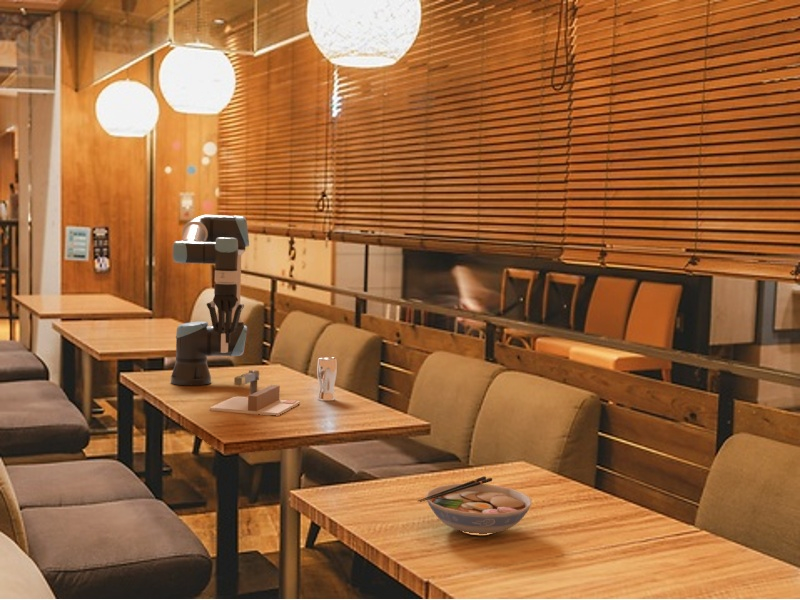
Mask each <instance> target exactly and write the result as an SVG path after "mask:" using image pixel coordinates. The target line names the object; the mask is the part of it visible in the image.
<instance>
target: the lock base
mask: <svg viewBox="0 0 800 600" xmlns="http://www.w3.org/2000/svg"><path fill="white" fill-rule="evenodd" d="M249 384H250V385H249V395H248V396H233V397H231V398H228V399H226V400H224V401H221V402H220V403H216V404H215V405H213V406H210V407H209V411H212V412H223V413H224V412H225V413H235V414H248V415H258V414H260V415H259V416H262V415H263V416H270V415H276V416H275V417H279V416H281V415H283V414H284V412H285V413H286V412H288V411H290V410H292V409H293V407H294V408H295V407H297V406H298V404H299V405H300V401H299V400H297V399H296V400H295V399H280V393H281V392H280V387H281V385H278V384H277V385H276V384H271V385H269V386H268V385H267V387H264V388H262V389H260V390H258V380H254V381H252V382H249ZM291 408H292V409H291ZM282 413H283V414H282ZM280 414H281V415H280ZM278 415H279V416H278Z"/></svg>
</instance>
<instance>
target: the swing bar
mask: <svg viewBox="0 0 800 600" xmlns="http://www.w3.org/2000/svg"><path fill="white" fill-rule="evenodd" d="M233 379H234V382H233V384H234V385H233V386H236V387H243V386H245V385H247V384H250V382H252V381H254V380H257V381H259V380H260V371H259V370H256V369H255V370H253V369H252V370H248V372H247V373H244V374H241V375H238V376H235V377H234V378H233Z"/></svg>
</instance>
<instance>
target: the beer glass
mask: <svg viewBox="0 0 800 600" xmlns="http://www.w3.org/2000/svg"><path fill="white" fill-rule="evenodd" d="M337 366H338V365H337V358H336V357H332V356H320V357H318V358H317V367H316V372H317V373H316V374H317V381H318V383H317V384H318V389H319V390H318V395H317V400H318V401H322V402H331V401H332V402H333V401H335V400H336V399H335V394H334V393H335V391H334V390H335V383H336V379H337V373H338V371H337V370H338V369H337V368H338V367H337Z"/></svg>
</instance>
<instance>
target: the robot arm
mask: <svg viewBox="0 0 800 600" xmlns="http://www.w3.org/2000/svg"><path fill="white" fill-rule="evenodd" d="M248 229H249V228H248V222H247V219H246V217H245V216H243V215H241V216H240V215H224V214H223V215H221V214H203V215H202V214H201V215H199V216H195V217H193V218H191V219H190V220H188V221H187V222H185V224H184V225H183V228H182V231H181V237H182V239H181V240H179V241H178V240H176V241H174V242H173V245H172V260H173V262H174V263H178V264H179V263H180V264H203V265H206V264H207V265H214V282H215V284H214V288H213V289H214V291H213V294H214V296H213V298H212V300H211V301H210V302H207V303H206V307H207V308H208V310H209V314H210V320H211V324H212V325H209V324H208V322H207V321H204V320H203V321H192V322H191V321H190V322H184V323H181V324H179V325H177V327H176V334H175V335H176V336H175V338H176V344H175V345H176V346H175V347H176V348H175V364H174V367H173V371H172V372H171V376H170V384H173V385H176V386H177V385H179V386H204V385H209V384H211V383H212V376H211V372H210V369H209V365H208V357H209V356H211V357H213V356H214V357H218V356H219V357H239V356H240V357H241V356H242V355H243V354H244V353H245V352H244V351H245V344H246V339H247V332H248V326H247V325H245V324H244V323H245V321H244V320H243V318H242V317H241V314H242V313H241V312H242V311H243V309H244V308H245V305H244V304H243V303H242V304H241V289H242V288H241V287H242V286H241V285H242V283H241V282H242V279H241V278H242V255H243V254H244V253H245V252H246V247H249V246H250V240H249V239H250V238H249V230H248ZM216 308H217V311H216Z"/></svg>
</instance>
